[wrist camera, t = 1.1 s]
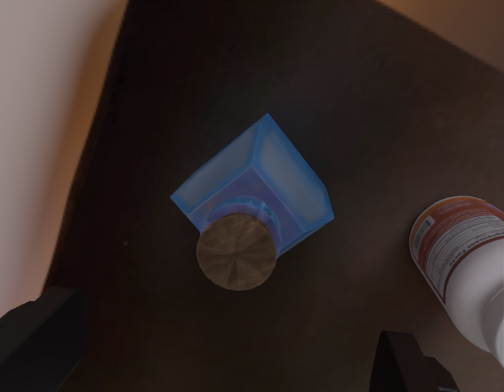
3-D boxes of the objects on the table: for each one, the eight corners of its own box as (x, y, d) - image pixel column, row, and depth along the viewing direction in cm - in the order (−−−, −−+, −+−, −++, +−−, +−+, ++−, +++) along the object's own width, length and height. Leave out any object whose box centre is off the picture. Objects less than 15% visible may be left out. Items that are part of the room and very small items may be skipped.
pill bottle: (514, 261, 27) (653, 381, 17) (422, 290, 28) (498, 418, 18) (489, 178, 26) (625, 252, 15) (394, 212, 27) (459, 301, 16)
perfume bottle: (253, 238, 29) (226, 348, 17) (196, 170, 28) (127, 239, 16) (325, 186, 27) (348, 270, 16) (267, 112, 26) (247, 143, 15)
